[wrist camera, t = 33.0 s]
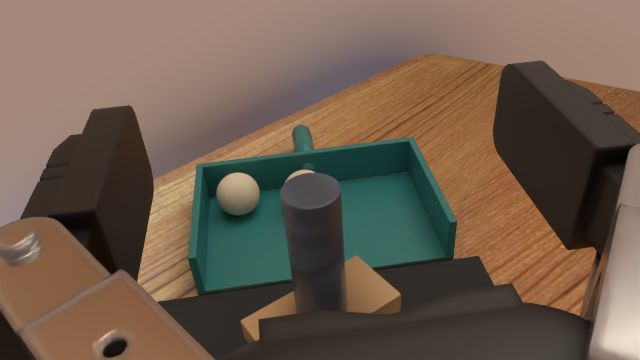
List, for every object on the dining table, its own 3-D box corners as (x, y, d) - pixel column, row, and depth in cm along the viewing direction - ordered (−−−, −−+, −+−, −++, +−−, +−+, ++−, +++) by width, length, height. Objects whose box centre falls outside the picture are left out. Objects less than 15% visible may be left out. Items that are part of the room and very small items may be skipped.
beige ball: (206, 176, 41) (211, 219, 41) (227, 172, 39) (232, 217, 39) (242, 173, 43) (248, 213, 43) (264, 168, 41) (270, 211, 41)
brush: (284, 404, 28) (256, 251, 22) (247, 352, 31) (212, 203, 25) (400, 326, 32) (405, 175, 26) (357, 286, 35) (352, 141, 28)
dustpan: (453, 258, 37) (457, 221, 35) (198, 295, 36) (187, 258, 34) (395, 135, 50) (395, 102, 48) (207, 158, 49) (199, 126, 47)
